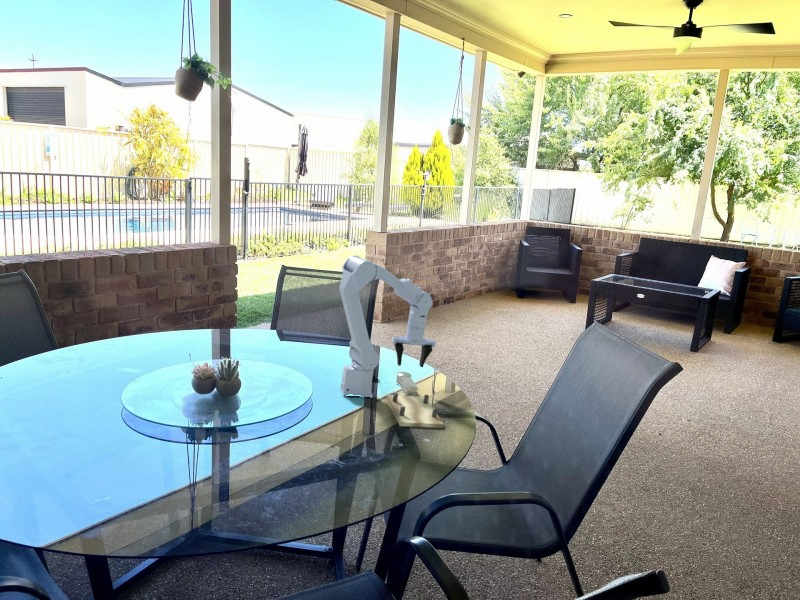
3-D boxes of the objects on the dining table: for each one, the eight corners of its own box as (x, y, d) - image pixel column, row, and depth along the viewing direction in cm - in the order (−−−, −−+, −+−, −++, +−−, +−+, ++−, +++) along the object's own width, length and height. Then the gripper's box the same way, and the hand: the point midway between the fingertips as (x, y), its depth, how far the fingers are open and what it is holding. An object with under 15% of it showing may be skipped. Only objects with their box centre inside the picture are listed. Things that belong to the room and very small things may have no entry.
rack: (399, 426, 166) (401, 414, 165) (386, 398, 185) (388, 387, 184) (442, 427, 169) (445, 416, 168) (425, 400, 188) (427, 389, 187)
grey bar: (403, 396, 188) (405, 386, 187) (394, 380, 201) (396, 371, 200) (417, 397, 189) (419, 387, 188) (408, 381, 202) (409, 372, 202)
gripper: (397, 328, 185) (391, 368, 187) (440, 331, 188) (434, 371, 191) (392, 322, 191) (387, 360, 194) (434, 325, 195) (428, 363, 198)
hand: (410, 365), depth 193 cm, fingers open, 7 cm apart
